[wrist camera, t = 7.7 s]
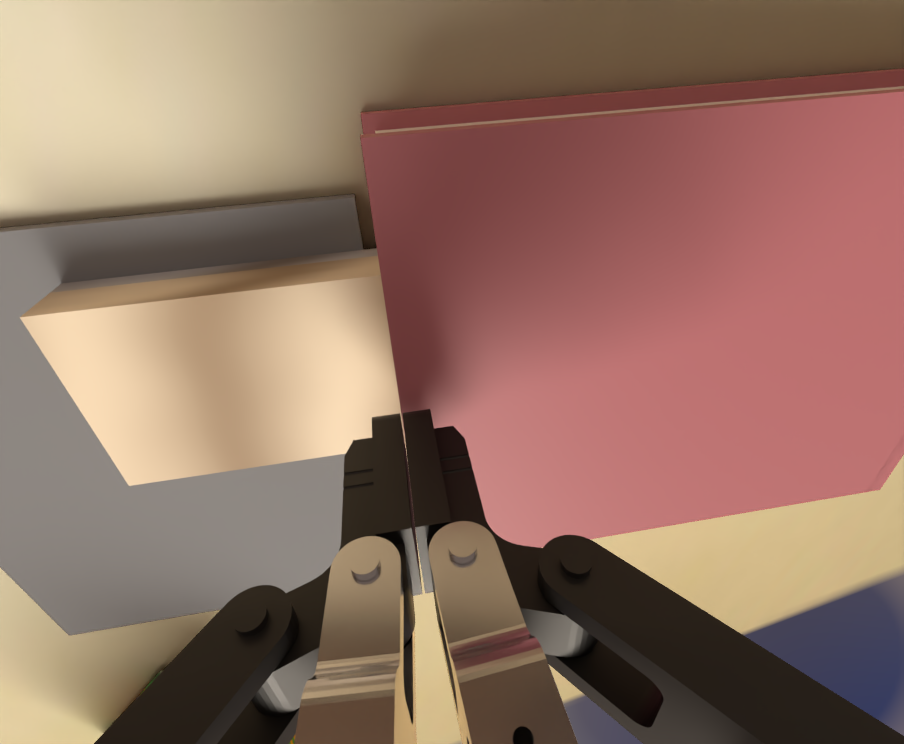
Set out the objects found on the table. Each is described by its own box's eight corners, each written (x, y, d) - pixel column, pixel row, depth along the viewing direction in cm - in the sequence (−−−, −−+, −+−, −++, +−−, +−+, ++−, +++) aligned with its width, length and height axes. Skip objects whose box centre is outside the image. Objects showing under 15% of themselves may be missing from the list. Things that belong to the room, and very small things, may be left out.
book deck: (977, 62, 14) (1161, 69, 11) (804, 423, 22) (879, 489, 19) (360, 112, 12) (360, 137, 9) (414, 483, 21) (424, 567, 17)
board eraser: (386, 247, 14) (389, 274, 13) (409, 406, 18) (413, 443, 16) (61, 283, 13) (19, 317, 12) (151, 442, 17) (129, 486, 15)
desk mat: (354, 193, 14) (354, 197, 13) (416, 568, 24) (417, 575, 24) (-289, 256, 12) (-308, 261, 12) (73, 626, 22) (68, 635, 22)
